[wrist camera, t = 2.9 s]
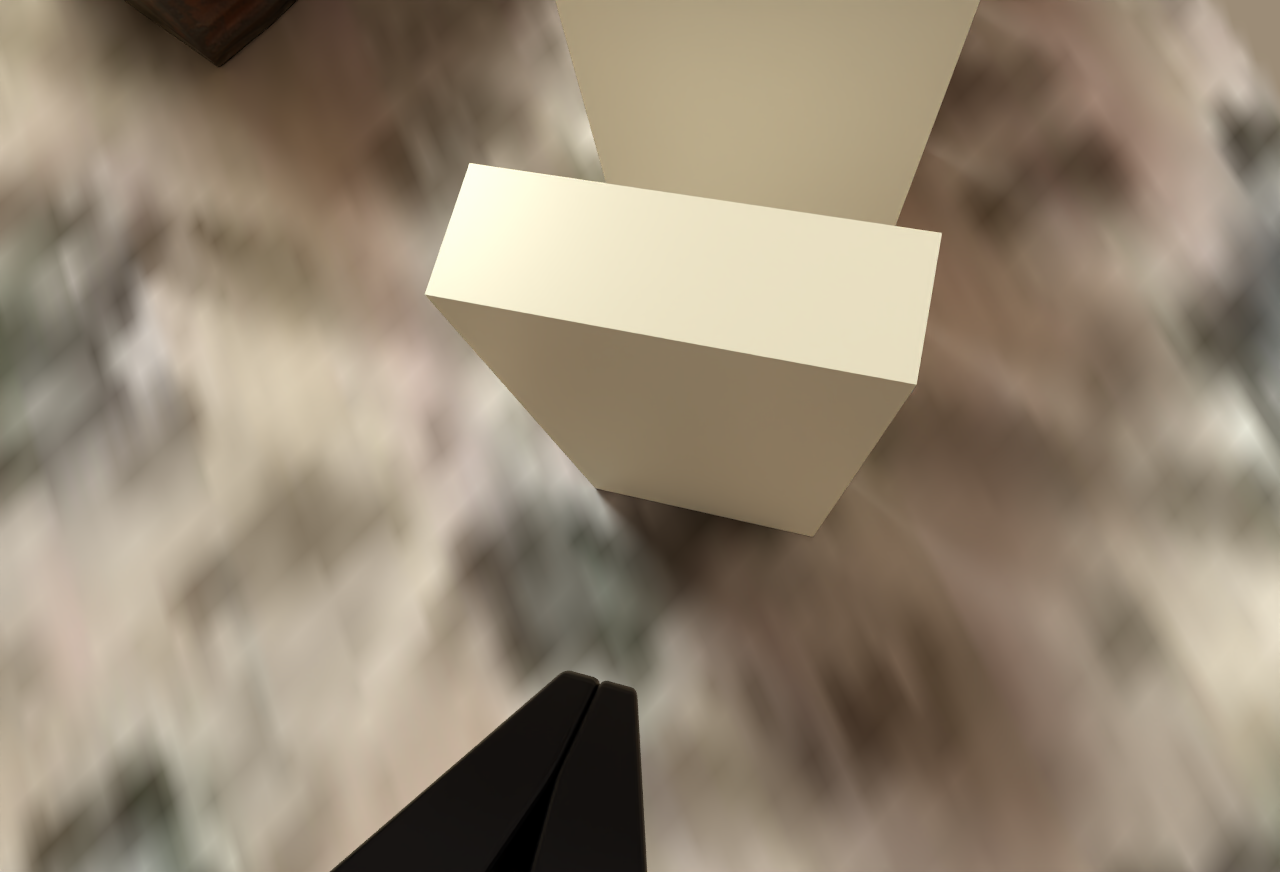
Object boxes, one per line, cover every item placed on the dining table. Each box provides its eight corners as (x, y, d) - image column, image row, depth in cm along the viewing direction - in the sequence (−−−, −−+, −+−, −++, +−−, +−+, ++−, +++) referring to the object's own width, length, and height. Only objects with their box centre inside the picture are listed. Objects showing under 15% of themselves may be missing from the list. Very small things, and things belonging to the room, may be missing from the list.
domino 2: (813, 537, 17) (917, 384, 7) (595, 488, 17) (424, 294, 8) (826, 467, 17) (941, 232, 7) (612, 423, 18) (470, 162, 8)
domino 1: (848, 348, 18) (982, -6, 8) (642, 311, 19) (542, -48, 9) (860, 286, 18) (1002, -122, 8) (657, 253, 19) (576, -151, 9)
